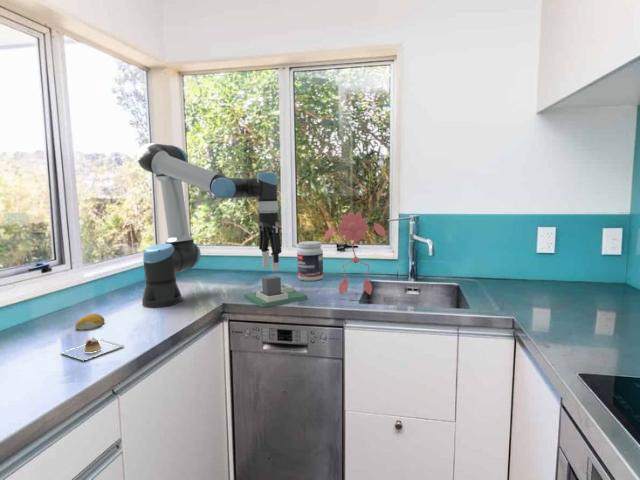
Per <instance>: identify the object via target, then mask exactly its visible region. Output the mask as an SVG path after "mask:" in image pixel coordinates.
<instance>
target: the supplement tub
mask: <svg viewBox="0 0 640 480" xmlns="http://www.w3.org/2000/svg"><path fill="white" fill-rule="evenodd" d="M298 247H299V248H298V249H297V251H296V252H297V253H296V256H297V257H296V258H297V260H296V261H297V264H296V265H297V278H298V280H301V281H304V282H315V281H320V280H322V279H323V277H324V256H323V254H324V251H323V249H322V242H321V241H319V240H318V241H316V240H315V241H312V240H311V241H309V240H307V241H306V240H305V241H300V242H298Z"/></svg>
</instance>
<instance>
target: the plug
mask: <svg viewBox="0 0 640 480" xmlns="http://www.w3.org/2000/svg"><path fill="white" fill-rule="evenodd" d="M281 280H282V279H281V277H280V276H277V275H271V276H264V277H261V283H262V291H263V294H265V295H267V296H274V295H280V294H281V284H282V281H281Z"/></svg>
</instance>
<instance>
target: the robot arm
mask: <svg viewBox="0 0 640 480" xmlns="http://www.w3.org/2000/svg"><path fill="white" fill-rule="evenodd" d="M137 163H138V164H139V166H140V167H141V168H142V169H143V170H144V171H146V172H149V173H151V174H155V178H156V180H158V182H160V188H161V194H162V201H163V211H164V215H165V223H166V224H165V225H166V229H167V235H168V236H167V237H168V238H167V239H166V240H165V243H159V244H153V245H150V246H148V247H146V248H145V249H144V250H143V257H142V261H143V269H144V280H145V287H144V291H143V294H142V295H143V296H142V297H141V298H142V299H141V301H142V303H141V305H142V306H143V307H146V308H162V307H168V306H174V305H176V304H177V305H178V304H179V303H181V302H182V301H183V300H182V299H183V298H182V293H181V290H180V287H179V286H178V283H177V277H176V276H177V275H176V274H177V273H181V272H184V271H189V270H191V269H193V268H195V267H196V266H197V265H198V263H200V259H201V257H202V254H201V249H200V247H199V246H198V245H197V244H196V243H195V242H194V238H193V237H192V236H191V235H190V231H189V225H188V216H187V210H186V203H185V197H184V196H185V195H184V188H183V183H186V184H188V185H191V186H194V187H196V188H199V189H201V190H204V191H207V192H209V193H212V194H213V195H214V196H215V198H218V199H223V200H226V199H227V200H228V199H242V198H243V199H245V198H258V201H257V202H258V206H257V207H258V212H259V213H258V218H259V219H258V221H259V223H262V225H259V226H258V227H259V239H258V240H259V245H258V246H259V247H258V248H259V250H261V251H260V252H261V254H262V256H261V258H262V260H261V261H262V268H263V269H265V268H271V272H276V271H280V258H279V255H280V254H281V253H282V245H281V244H282V243H281V236H280V235H281V233H280V230H281V228H280V227H279V226H278V227H277V226H276V223H278V222H279V213H278V211H279V209H278V208H279V203H278V200H279V199H278V180H277V174H276V172H273V171H271V172H267V171H266V172H264V171H263V172H258V173H257V175H256V177H255V178H254V177H252V178H251V177H250V178H247V177H246V178H245V177H244V178H243V177H242V178H241V177H240V178H238V177H236V178H235V177H228V176H225V175H222V174H220V173H217V172H215V171H212V170H209V169H206V168H203V167H201V166H198V165H196V164H194V163H193V164H192V163H191V162H189V158H188V155H187V153H186V152H185V151H184V150H183V149H182V148H180V147H179V146H176V145H172V144H171V145H169V144H160V143H155V142H152V143H151V142H150V143H146V144H144V145H143V146H141V147H140V148H139V150H138V153H137ZM269 244H270V247H271V253H270V252H269V251H270V249H269ZM270 256H271V267H270Z"/></svg>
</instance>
